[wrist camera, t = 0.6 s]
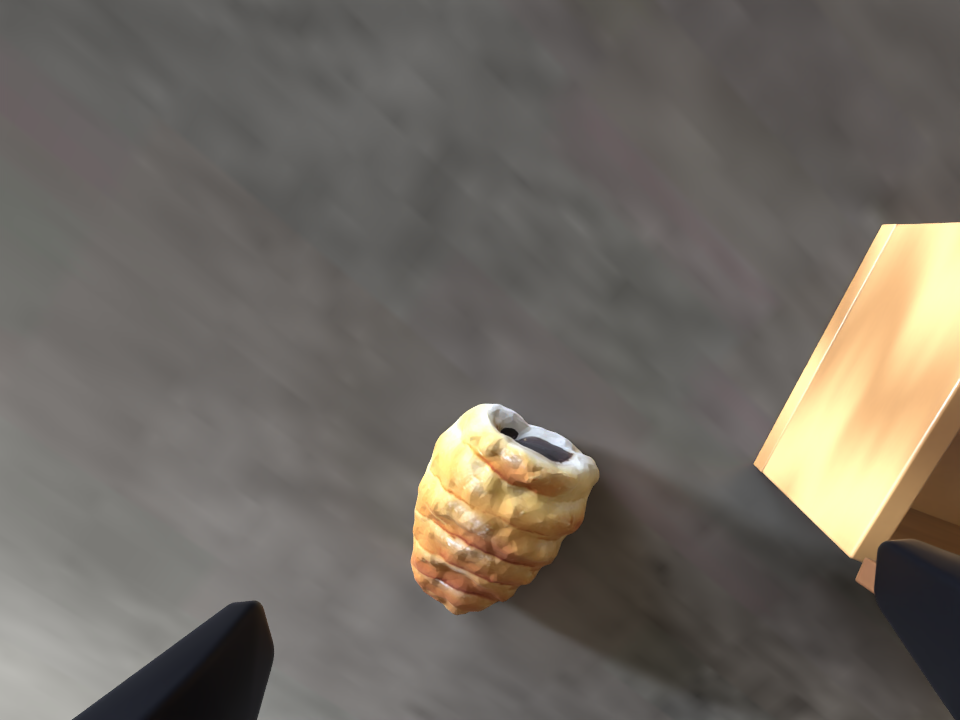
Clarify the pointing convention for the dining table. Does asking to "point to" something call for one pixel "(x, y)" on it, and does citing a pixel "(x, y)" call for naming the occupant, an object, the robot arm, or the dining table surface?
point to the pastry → (495, 507)
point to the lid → (867, 574)
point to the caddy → (881, 402)
